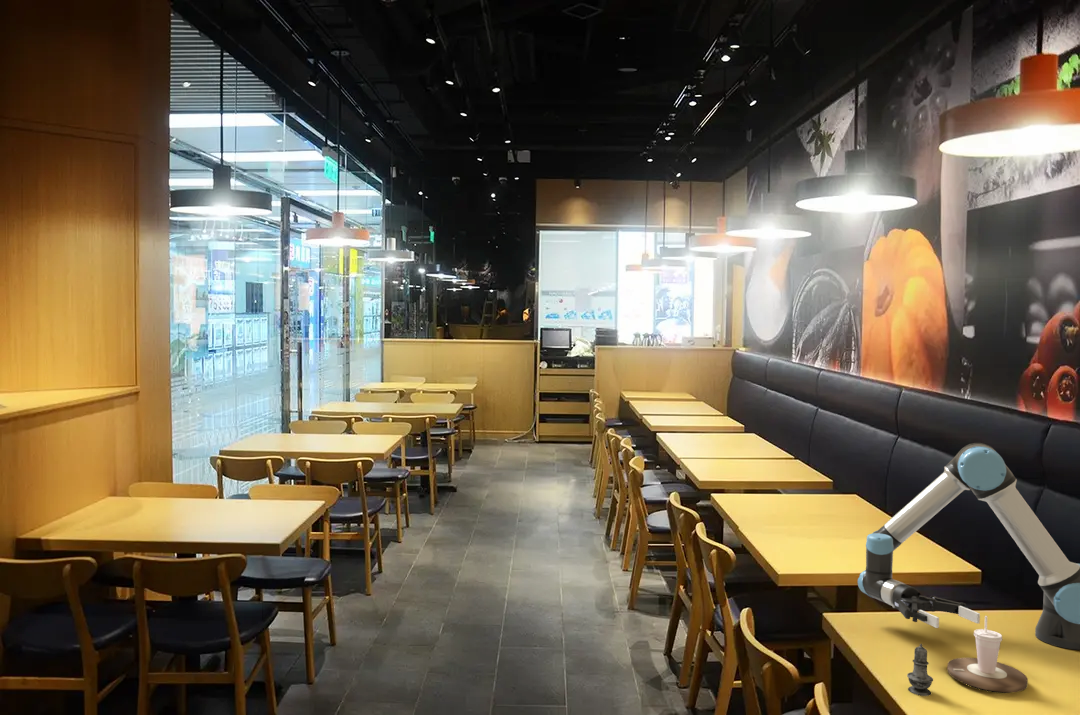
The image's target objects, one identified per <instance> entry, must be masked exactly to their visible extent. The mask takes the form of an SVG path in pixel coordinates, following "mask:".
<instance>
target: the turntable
mask: <svg viewBox="0 0 1080 715" xmlns="http://www.w3.org/2000/svg"><path fill="white" fill-rule="evenodd" d="M946 668H947V669H946V670H947V673H948V675H949V676H951V677H952V678H953V679H955V680H956V681H959V682H961V683H962V684H964V683H965V684H964V685H966V684H967V685H966V686H968V685H970V686H973V687H977V688H980V689H985V690H990V691H996V692H1011V693H1017V692H1022V691H1024V690H1026V689H1027V688H1028V686H1029V682H1028V681H1029V680H1028V679H1029V678H1028V677H1027V675H1026V674H1025V673H1024V672H1022V671H1021V670H1019V669H1018V668H1015V667H1013V666H1010V665H1007V664H1005V663H1001V662H1000V661H999V662H998V661H997V664H996V669H995V673H993V674H989V673H984V672H981V671H980V670H979V668H978V658H977V657H957V658H953V659H950V660H949V661H948V663H947V667H946ZM970 686H969V687H970ZM973 687H972V688H973Z"/></svg>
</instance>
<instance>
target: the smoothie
mask: <svg viewBox="0 0 1080 715" xmlns="http://www.w3.org/2000/svg"><path fill="white" fill-rule="evenodd" d="M973 636H974V637H975V647H976V656H977V657H976V658H978V668H979V670H980V671H981V672H984V673H989V674H993V673H995V669H996V664H997V662H998V656H999V652H1000V647H1001V642H1002V641H1003V635H1002V634H1001V633H999V631H998V632H997V631H994V630H991V629H988V616H987V615H985V616H984V628H977V629H975V630H973Z"/></svg>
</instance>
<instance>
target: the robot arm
mask: <svg viewBox="0 0 1080 715" xmlns="http://www.w3.org/2000/svg"><path fill="white" fill-rule="evenodd" d="M943 468H944V470H943V472H942V473H941V474H940V475H939V476H938V477H936V478H935V479H934V480H933V481H932V482H931V483H930V484H928V486H926V487H925V488H924V489H923V490H922V491H921V492H919V493H918V494H917V495H916V496H915V497H913V499H911V501H909V502H908V503H907V504H906V505H905V506H903V507H902V509H901V508H900V510H899V511H898V512H896V513H895V515H893V516H892V517H891V518H890V519H888V520H887V521H886V523H884V525H883V526H881V527H880V528H878V530H875V531H873V532H872V533H870V534H867V536H866V541H865V542H866V544H865V558H866V559H865V569H864V570H863V571H862V572H860V574H859V577H858V578H857V586H858V588H859V590H860V591H861V592H862V593H863V594H865V595H867V596H868V597H870V598H872V599H876V600H878V601H879V602H883V603H885V604H887V605H889V606H892V608H893V609H896V610H898V611H899V612H900V614H901V615H902V616H903V617H904V618H905V619H906V620H910V619H911V618H912V620H911V621H912V622H914V623H918V621H920V622H922V623H925V624H926V625H930V627H933V628H936V629H939V628H940V617H939V616H936V615H934V614H931V613H929V612H936V611H937V612H938V611H939V612H943V613H944V612H945V613H950V614H954V615H958V616H959V617H961V618H963V619H966V620H967V621H970V622H973V623H975V624H980V622H981V621H980V620H981V615H980V614H981V613H979V612H977V611H975V610H972V609H970V608H968V607H967V603H965V602H963V601H962V602H958V601H955V600H951V599H945V598H941V597H939V596H935V595H930V597H927V596H926V595H921V593H920V591H919V590H918V589H917V588H915V587H913V586H911V585H909V584H906V583H904V582H903V581H899V580H896V579H894V578H893V561H894V558H893V557H894V551H896V549H898V548H899V547H900V546H901V545H903V543H904V542H906V541H907V540H908V539H909V538H910V537H911V536H913V534H914V533H916V532H917V531H918V530H920V528H922V527H923V526H924V525H925V524H926V523H928V522H929V521H930V520H931V519H932V518H934V516H935V515H937V514H939V512H940V511H941V510H942V509H943V508H945V507H946V506H947V505H948V504H949V503H951V502H952V501H954V499H956V498H957V497H958V496H959V495H960V494H961V493H963V492H964V491H972V493H973V495H975V497H976V498H977V500H978V501H982V502H986V503H987V505H988V506H989V507H990V509H991V510H992V511H993V512H994V514H995V516H996V517H997V518H998V520H999V521H1000V523H1001V524H1002V525H1003V527H1004V528H1005V530H1006V531H1007V533H1008V534H1009V535H1010V536H1011V538H1012V539H1013V541H1014V542H1015V543H1016V545H1017V547H1018V548H1019V550H1020V551H1021V552H1022V554H1023V555H1024V556H1025V558H1026V559H1027V561H1028V562H1029V563H1030V565H1031V566H1032V568H1033V569H1034V570H1035V571H1036V573H1037V574H1038V580H1037V584H1038V585H1039V587H1040V588H1041V590H1042V591H1043V600H1042V601H1043V604H1042V612H1041V615H1040V617H1039V619H1038V621H1037V624H1036V626H1035V633H1034V634H1035V637H1036V638H1037V639H1038V640H1040V641H1042V642H1044V643H1046V644H1049V645H1051V646H1054V647H1057V648H1058V647H1059V648H1063V649H1068V650H1076V651H1077V650H1078V651H1080V563H1076V562H1073V561H1070V560H1069V558H1067V556H1066V554H1065V553H1064V552H1063V551H1062V550H1061V548H1060V547H1059V545H1058V544H1057V542H1056V541H1055V540H1054V538H1053V537H1052V536H1051V535H1050V533H1049V532H1048V530H1047V529H1046V528H1045V525H1043V523H1042V522H1041V521H1040V520H1039V518H1038V516H1037V515H1036V514H1035V512H1034V511H1033V509H1032V508H1031V507H1030V506H1029V504H1028V503H1027V502H1026V500H1025V499H1024V497H1023V496H1022V494H1021V493H1020V491H1019V490H1018V489H1017V488H1016V486H1017V481H1018V480H1017V478H1016V477H1015V475H1014V474H1013V472H1012V471H1011V470H1010V468H1009V467H1008V466H1007V465H1006V463H1005V460H1004V459H1003V457H1002V456H1001V455H1000V454H999V453H998V452H997V450H995V449H994V448H993V447H992V446H991V445H988V444H985V443H983V442H982V443H981V442H974V443H969V444H967V445H965V446H964V447H962V448H961V449H960V450H959V451H958V452H957V453H956V455H955V456H954V457H953V458H952V459H951V460H949V462H948V463H947V464H946V465H945V466H944V467H943ZM931 606H932V607H931ZM928 611H929V612H928Z"/></svg>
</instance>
